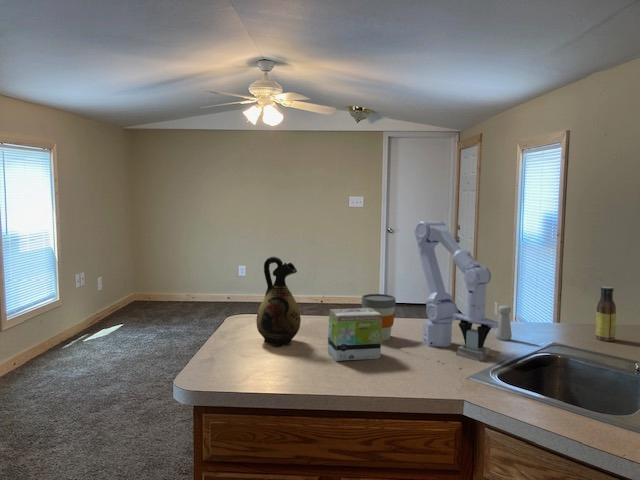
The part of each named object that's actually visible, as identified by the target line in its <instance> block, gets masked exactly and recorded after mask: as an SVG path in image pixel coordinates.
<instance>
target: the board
mask: <svg viewBox="0 0 640 480" xmlns="http://www.w3.org/2000/svg"><path fill="white" fill-rule="evenodd" d="M456 350H457V353H456V354H455V355H456V356H459V357H463V358H466V359H469V360H474V361H476V362H484V361H487V360H488V359H491V358H492V357H494V356H496V355H498V354H500V353H501V351H499V350H495V349H492V348H491V347H487V346H484V345H483V350H481V351H478V352H477V351H473V350H469V349H466V345H465V344H463V345H460V346H458V347H457V348H456Z"/></svg>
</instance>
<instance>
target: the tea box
mask: <svg viewBox="0 0 640 480" xmlns="http://www.w3.org/2000/svg"><path fill="white" fill-rule="evenodd" d="M381 331H382V315H381V314H380V313H378V312H377V311H375V310H374V309H372V308H361V307H360V308H359V307H358V308H330V309H329V312H328V332H327V333H328V334H327V353H328V354H329V355H330V356H331V357H332V359H334V361H335V362H342V361H354V360H355V361H357V360H361V361H362V360H379V359H381V352H382V351H381V348H382V341H381Z"/></svg>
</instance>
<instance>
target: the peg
mask: <svg viewBox="0 0 640 480" xmlns="http://www.w3.org/2000/svg"><path fill="white" fill-rule="evenodd" d="M466 349H469V350H473V351H477V352H478V351H481V350H483V347H482V348H478V330H477V329H475V328H471V329H470V330H467V334H466Z"/></svg>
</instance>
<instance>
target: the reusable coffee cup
mask: <svg viewBox="0 0 640 480" xmlns="http://www.w3.org/2000/svg"><path fill="white" fill-rule="evenodd" d="M396 303H397V301H396V297H395V296H394V295H391V294H386V293H385V294H381V293H368V294H363V295H362V298H361V306H362V308H372V309H374V310H375V311H377V312H378V313H380V314H381V315H382V331H381V342H385V341H388V340H390V338H391V333H392V327H393V326H394V322H395V321H394V320H395V315H396V313H395V308H396V306H397V304H396Z"/></svg>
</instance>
